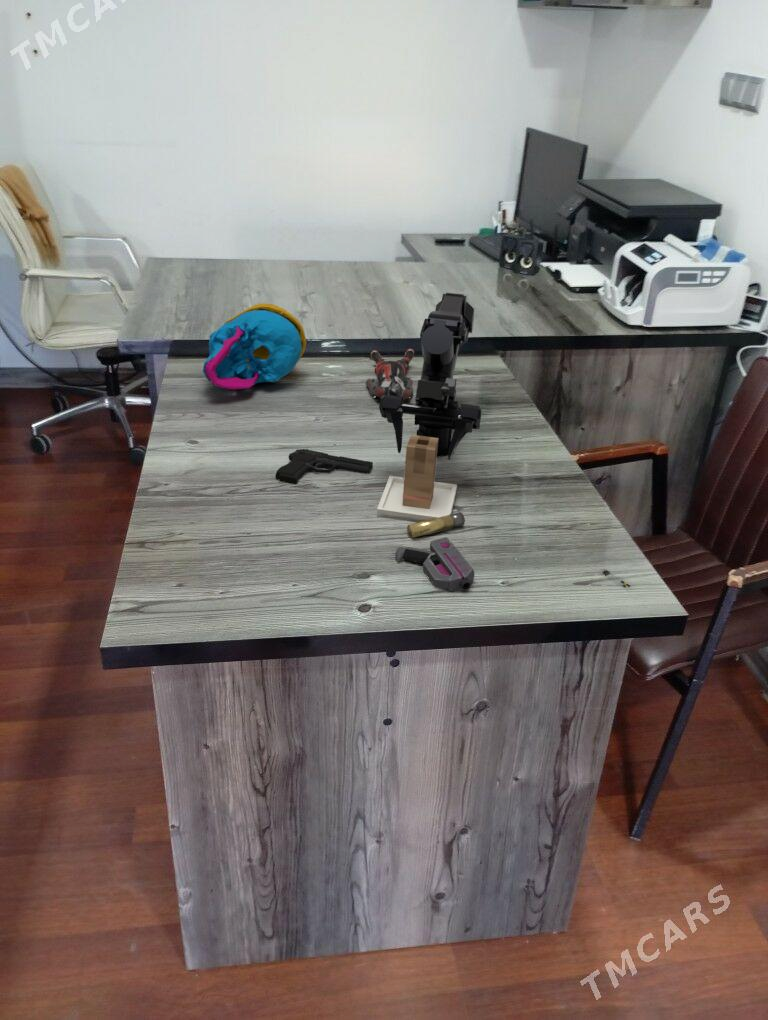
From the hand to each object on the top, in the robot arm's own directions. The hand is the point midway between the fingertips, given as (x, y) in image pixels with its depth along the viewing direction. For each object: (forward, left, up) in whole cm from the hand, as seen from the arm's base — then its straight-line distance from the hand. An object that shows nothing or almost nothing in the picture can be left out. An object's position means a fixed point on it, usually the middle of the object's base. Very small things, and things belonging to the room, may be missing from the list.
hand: (423, 455), depth 153 cm
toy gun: (+10, +23, -9) cm, 26 cm away
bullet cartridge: (+4, +12, -8) cm, 15 cm away
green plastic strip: (-16, +37, -9) cm, 41 cm away
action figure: (-20, -48, -9) cm, 52 cm away
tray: (+2, +3, -8) cm, 9 cm away
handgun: (+13, -15, -9) cm, 22 cm away
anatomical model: (+10, -62, -8) cm, 64 cm away
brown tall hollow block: (+2, +3, -8) cm, 8 cm away
